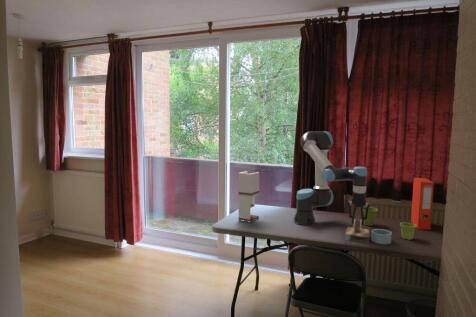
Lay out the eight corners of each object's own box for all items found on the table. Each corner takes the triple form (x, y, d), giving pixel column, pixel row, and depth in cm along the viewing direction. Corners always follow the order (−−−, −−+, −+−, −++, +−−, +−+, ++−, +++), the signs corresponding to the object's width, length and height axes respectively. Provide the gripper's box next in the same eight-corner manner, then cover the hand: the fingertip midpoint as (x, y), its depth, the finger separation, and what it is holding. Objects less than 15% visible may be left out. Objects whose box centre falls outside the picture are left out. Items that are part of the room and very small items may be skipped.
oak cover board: (345, 234, 211) (345, 223, 210) (347, 227, 222) (348, 217, 222) (367, 237, 205) (368, 226, 204) (369, 230, 217) (369, 220, 216)
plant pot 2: (395, 235, 218) (396, 222, 217) (410, 235, 219) (410, 222, 218) (404, 241, 209) (404, 227, 208) (419, 240, 210) (419, 226, 209)
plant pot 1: (378, 227, 235) (379, 211, 234) (360, 226, 238) (361, 210, 236) (375, 222, 247) (376, 207, 245) (358, 221, 249) (358, 206, 248)
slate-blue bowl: (370, 243, 206) (371, 233, 205) (371, 237, 216) (372, 228, 215) (391, 245, 201) (391, 235, 200) (391, 239, 211) (391, 230, 210)
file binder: (423, 222, 246) (425, 178, 243) (430, 230, 230) (433, 182, 226) (410, 221, 248) (413, 177, 245) (417, 229, 232) (420, 182, 228)
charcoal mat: (344, 240, 210) (344, 239, 210) (347, 233, 223) (347, 232, 223) (368, 243, 205) (368, 242, 205) (370, 236, 217) (370, 235, 217)
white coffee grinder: (251, 222, 247) (251, 174, 243) (238, 220, 252) (238, 172, 248) (258, 218, 256) (259, 172, 252) (246, 216, 262) (246, 170, 258)
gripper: (344, 192, 210) (343, 229, 213) (373, 194, 204) (370, 233, 207) (346, 189, 217) (344, 225, 220) (373, 192, 211) (371, 229, 214)
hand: (357, 229), depth 214 cm, fingers closed on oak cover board, 3 cm apart
